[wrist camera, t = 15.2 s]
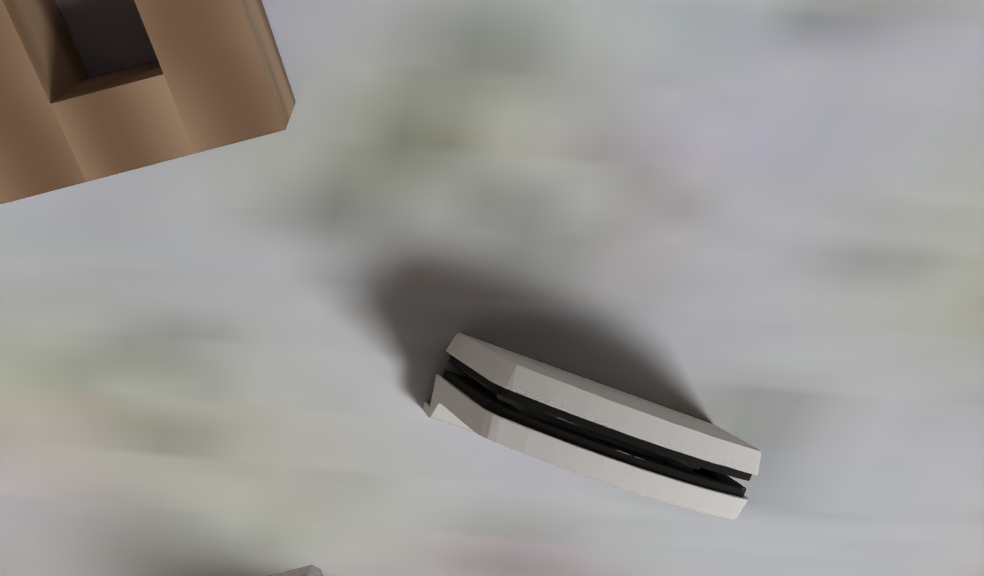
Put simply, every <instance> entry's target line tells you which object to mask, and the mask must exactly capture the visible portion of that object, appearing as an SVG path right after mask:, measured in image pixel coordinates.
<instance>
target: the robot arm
mask: <svg viewBox="0 0 984 576" xmlns="http://www.w3.org/2000/svg"><path fill="white" fill-rule="evenodd" d="M269 576H323V574H322V572H321V570H320V569H319V568H317V567H315V566H313V565H310V566H306V567H302V568H298V569H294V570H290V571H286V572H282V573H278V574H274V575H269Z"/></svg>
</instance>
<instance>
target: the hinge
mask: <svg viewBox="0 0 984 576" xmlns="http://www.w3.org/2000/svg"><path fill="white" fill-rule="evenodd" d="M445 351H446V352H448V353H449V354H451V357H450V359H449V362H450V363H452V364H453V365H455V366H456V367H458V368H459V369H461V370H462V371H463V372H465V373H466V374H468V375H469V376H471V377H472V378H474V379H475V380H476V381H475V380H474V379H471V378H469V377H466V376H463V375H460V374H457V373H454V372H451V371H449V370H445V372H444V375H443V376H440V375H437V374H436V378H435V384H434V389H433V394H432V399H431V403H429V402H426V401H425V403H424V407H423V410H424V412H425V413H426V414H427V416H428V417H430V418H433V419H436V420H439V421H442V422H445V423H448V424H451V425H454V426H457V427H460V428H463V429H466V430H469V431H472V432H475V433H477V434H479V435H481V436H483V437H485V438H487V439H489V440H491V441H494V442H496V443H499V444H501V445H504V446H506V447H509V448H511V449H514V450H517V451H519V452H522V453H524V454H527V455H529V456H532V457H535V458H537V459H540V460H543V461H545V462H548V463H550V464H553V465H556V466H559V467H561V468H564V469H567V470H570V471H573V472H575V473H578V474H581V475H584V476H587V477H589V478H592V479H595V480H598V481H601V482H604V483H606V484H609V485H612V486H615V487H618V488H621V489H625V490H628V491H631V492H634V493H637V494H640V495H644V496H647V497H650V498H653V499H656V500H659V501H663V502H666V503H670V504H674V505H677V506H681V507H684V508H688V509H692V510H695V511H699V512H703V513H707V514H711V515H716V516H720V517H725V518H730V519H736V518H737V516H738V515H739V513H740V512H741V510H742V508H743V507H744V505H745V504H746V502H747V500H748V498H747V497H746V496H744V494H745V491H746V488H745V487H743V486H742V485H740V484H739V483H738V482H736V481H735V480H733V479H732V478H730V477H729V476H732V477H736V478H739V479H743V480H747V481H749V480H750V478H751V475H752V474H753V475H758V470H759V464H760V457H761V450H759V449H757V448H755V447H753V446H752V445H750V444H748V443H746V442H744V441H743V440H741V439H739V438H737V437H735V436H734V435H732V434H730V433H728V432H726V431H725V430H723V429H721V428H719V427H717V426H716V425H714V424H711V423H709V422H706V421H703V420H700V419H698V418H695V417H692V416H689V415H686V414H684V413H681V412H678V411H675V410H673V409H670V408H667V407H664V406H662V405H659V404H656V403H653V402H650V401H648V400H645V399H642V398H639V397H637V396H634V395H631V394H628V393H625V392H623V391H620V390H617V389H614V388H612V387H609V386H606V385H603V384H601V383H598V382H595V381H592V380H589V379H587V378H584V377H581V376H578V375H576V374H573V373H570V372H567V371H564V370H562V369H559V368H556V367H553V366H551V365H548V364H545V363H542V362H540V361H537V360H534V359H531V358H528V357H526V356H523V355H520V354H517V353H515V352H512V351H509V350H506V349H504V348H501V347H498V346H495V345H492V344H490V343H487V342H484V341H481V340H479V339H476V338H473V337H470V336H467V335H465V334H462V333H459V332H458V333H457V334H456V336H455V337H454V338H453V340H452V341H451V343H450V344H449V346H448V347H447V349H446V350H445ZM477 381H478V382H479V383H478V382H477ZM480 383H481V384H482V385H481V384H480ZM553 416H554V417H553ZM556 417H557V418H556ZM561 419H562V420H561ZM564 420H565V421H564ZM727 475H728V476H727Z"/></svg>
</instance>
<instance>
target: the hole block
mask: <svg viewBox="0 0 984 576" xmlns="http://www.w3.org/2000/svg"><path fill="white" fill-rule="evenodd" d="M134 1H135V4H136V6H137V9H138V11H139V14H140V16H141V19H142V21H143V24H144V26H145V29H146V31H147V34H148V36H149V39H150V41H151V44H152V46H153V49H154V51H155V54H156V56H157V59H158V60H156V61H152V62H148V63H144V64H140V65H137V66H133V67H129V68H125V69H121V70H117V71H114V72H110V73H106V74H102V75H98V76H94V77H90V78H88V75H87V73H86V71H85V68H84V66H83V64H82V62H81V59H80V57H79V55H78V52H77V50H76V48H75V46H74V43H73V41H72V39H71V36H70V34H69V32H68V30H67V27H66V25H65V23H64V20H63V18H62V16H61V14H60V11H59V9H58V7H57V4H56V2H55V0H0V204H3V203H7V202H11V201H15V200H19V199H23V198H26V197H30V196H34V195H38V194H42V193H46V192H49V191H53V190H57V189H61V188H65V187H68V186H72V185H76V184H80V183H84V182H88V181H91V180H95V179H99V178H103V177H107V176H110V175H114V174H118V173H122V172H126V171H130V170H133V169H137V168H141V167H145V166H149V165H152V164H156V163H160V162H164V161H168V160H172V159H175V158H179V157H183V156H187V155H191V154H194V153H198V152H202V151H206V150H210V149H214V148H217V147H221V146H225V145H229V144H233V143H237V142H240V141H244V140H248V139H252V138H256V137H259V136H263V135H267V134H271V133H275V132H279V131H282V130H285V129H286V127H287V124H288V121H289V118H290V116H291V113H292V110H293V107H294V105H295V99H294V96H293V93H292V90H291V87H290V84H289V81H288V78H287V75H286V72H285V69H284V66H283V63H282V60H281V57H280V54H279V51H278V48H277V45H276V42H275V39H274V36H273V33H272V30H271V27H270V24H269V21H268V18H267V15H266V12H265V9H264V6H263V4H262V1H261V0H134Z"/></svg>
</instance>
